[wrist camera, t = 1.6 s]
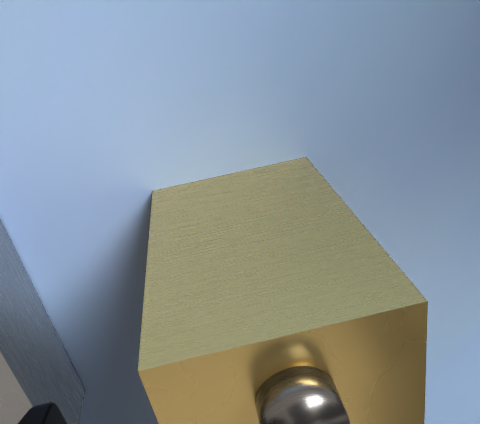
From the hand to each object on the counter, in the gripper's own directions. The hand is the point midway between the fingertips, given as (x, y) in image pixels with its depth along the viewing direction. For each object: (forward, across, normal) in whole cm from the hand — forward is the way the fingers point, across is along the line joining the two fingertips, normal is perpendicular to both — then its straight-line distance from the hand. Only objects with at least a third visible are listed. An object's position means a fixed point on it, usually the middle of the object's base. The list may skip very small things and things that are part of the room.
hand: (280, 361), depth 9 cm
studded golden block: (+4, 0, 0) cm, 4 cm away
